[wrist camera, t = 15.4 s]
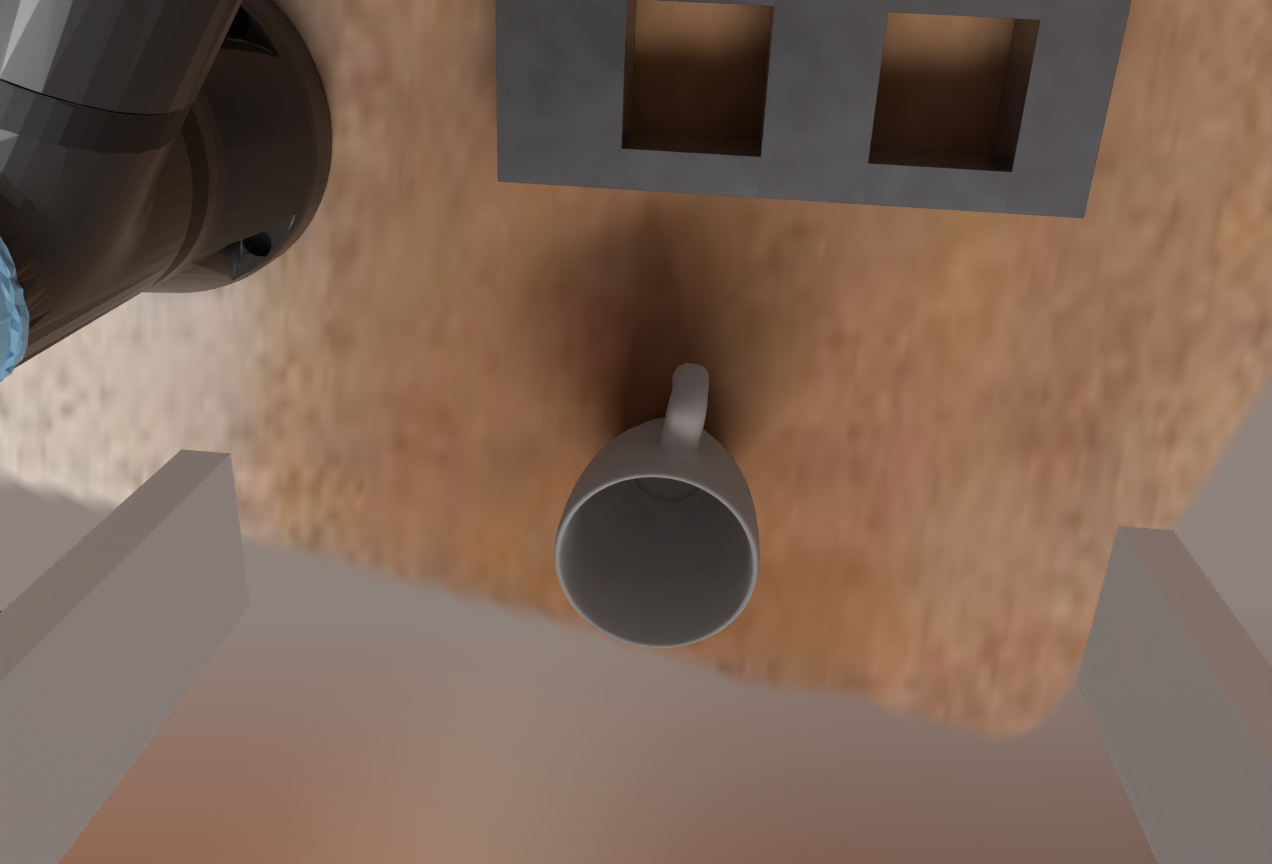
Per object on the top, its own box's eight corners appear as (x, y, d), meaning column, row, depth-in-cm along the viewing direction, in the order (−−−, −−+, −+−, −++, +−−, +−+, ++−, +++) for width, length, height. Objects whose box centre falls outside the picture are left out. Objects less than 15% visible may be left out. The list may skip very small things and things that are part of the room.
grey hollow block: (516, 163, 49) (497, 181, 45) (515, -55, 45) (495, -55, 41) (1057, 196, 47) (1083, 218, 43) (1103, -27, 43) (1136, -24, 40)
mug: (737, 555, 56) (735, 668, 47) (571, 521, 56) (539, 628, 47) (791, 343, 51) (800, 426, 42) (608, 306, 51) (580, 382, 42)
